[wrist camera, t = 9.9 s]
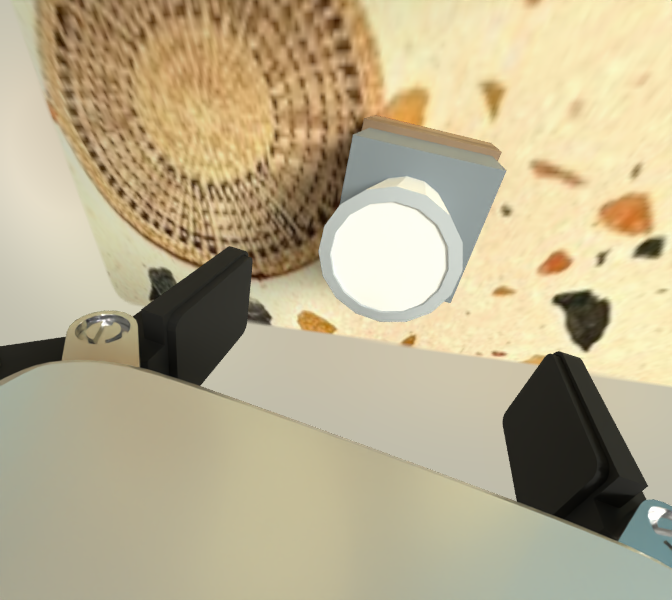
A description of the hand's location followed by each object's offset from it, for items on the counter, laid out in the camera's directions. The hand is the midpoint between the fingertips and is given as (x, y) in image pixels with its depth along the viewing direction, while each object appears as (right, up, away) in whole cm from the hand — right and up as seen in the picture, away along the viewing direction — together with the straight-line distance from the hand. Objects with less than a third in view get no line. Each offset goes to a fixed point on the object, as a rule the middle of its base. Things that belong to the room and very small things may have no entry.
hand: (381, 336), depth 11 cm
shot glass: (+3, +6, +12) cm, 14 cm away
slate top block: (+4, +9, +17) cm, 20 cm away
